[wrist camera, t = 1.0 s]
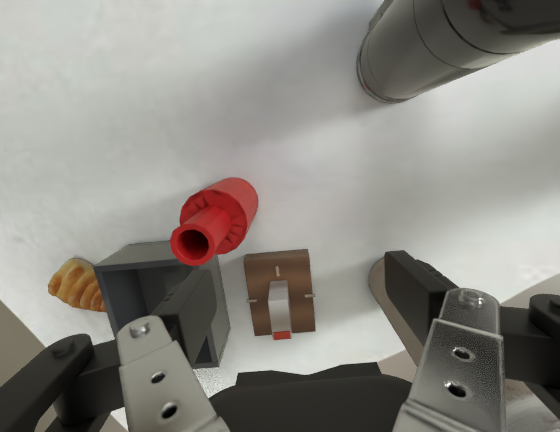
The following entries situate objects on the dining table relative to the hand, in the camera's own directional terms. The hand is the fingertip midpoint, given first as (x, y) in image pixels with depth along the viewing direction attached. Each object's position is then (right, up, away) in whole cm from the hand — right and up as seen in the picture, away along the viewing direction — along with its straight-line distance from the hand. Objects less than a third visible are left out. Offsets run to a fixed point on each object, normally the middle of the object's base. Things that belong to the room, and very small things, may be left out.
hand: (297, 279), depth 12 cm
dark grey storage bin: (-16, -8, +28) cm, 33 cm away
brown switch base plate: (-1, -8, +27) cm, 29 cm away
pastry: (-29, -7, +28) cm, 41 cm away
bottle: (-7, +5, +24) cm, 26 cm away
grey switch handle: (-1, -9, +25) cm, 26 cm away
